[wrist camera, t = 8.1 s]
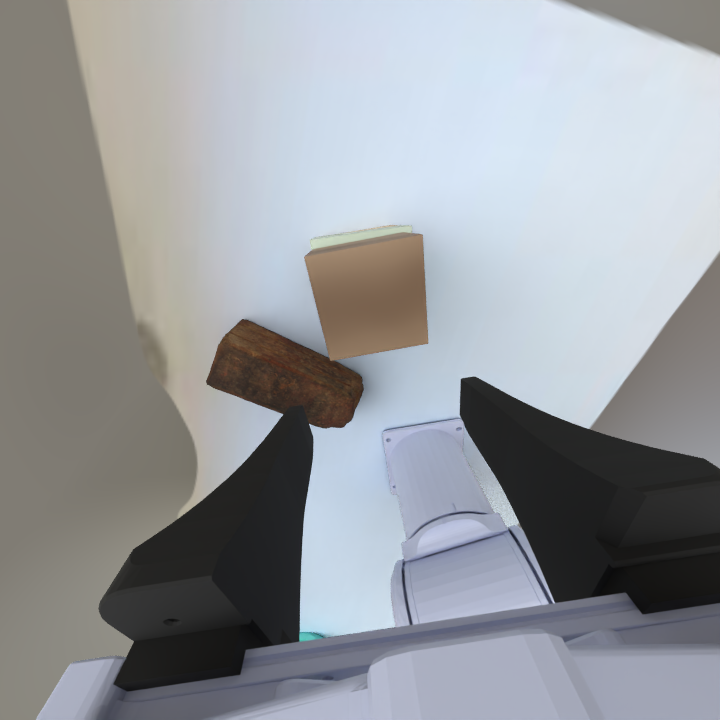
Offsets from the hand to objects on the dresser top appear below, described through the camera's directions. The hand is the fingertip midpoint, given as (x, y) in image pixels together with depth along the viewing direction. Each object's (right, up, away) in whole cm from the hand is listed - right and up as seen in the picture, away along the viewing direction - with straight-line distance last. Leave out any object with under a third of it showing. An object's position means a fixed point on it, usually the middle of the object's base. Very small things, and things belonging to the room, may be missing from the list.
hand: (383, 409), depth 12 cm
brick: (-6, +2, +11) cm, 13 cm away
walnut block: (-1, +6, +2) cm, 7 cm away
